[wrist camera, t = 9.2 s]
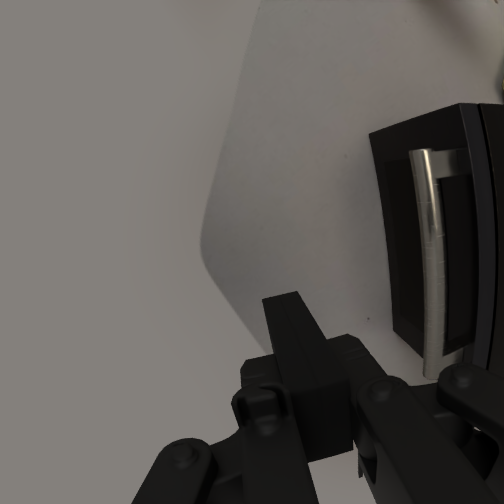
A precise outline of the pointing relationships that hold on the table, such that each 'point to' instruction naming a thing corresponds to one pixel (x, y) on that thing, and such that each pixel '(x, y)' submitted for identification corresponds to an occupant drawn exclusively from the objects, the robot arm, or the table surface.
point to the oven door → (439, 234)
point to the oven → (496, 225)
